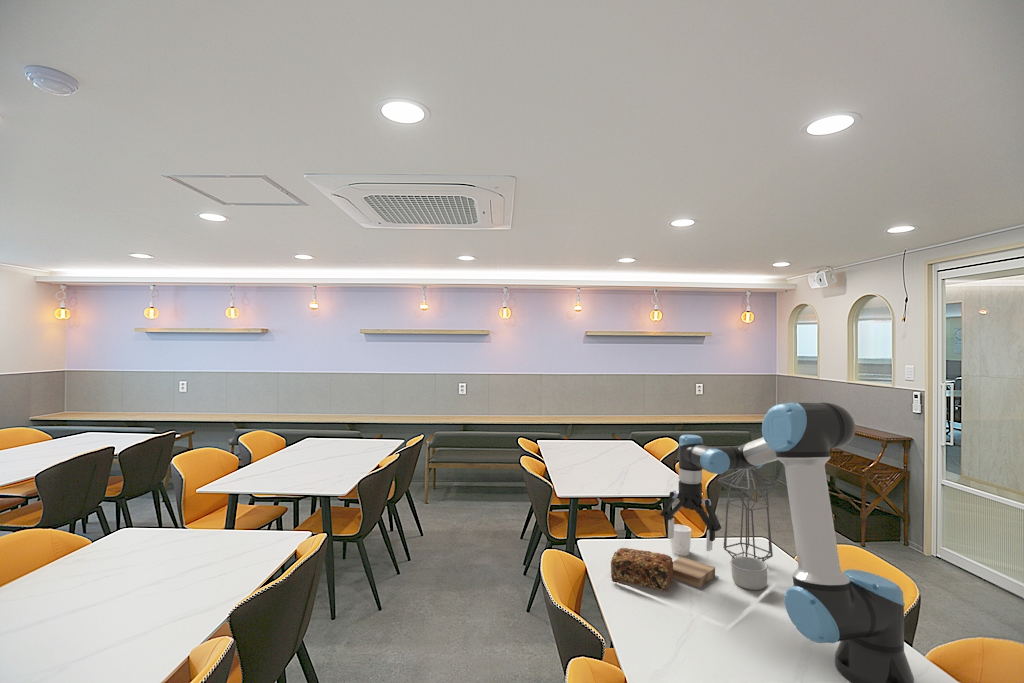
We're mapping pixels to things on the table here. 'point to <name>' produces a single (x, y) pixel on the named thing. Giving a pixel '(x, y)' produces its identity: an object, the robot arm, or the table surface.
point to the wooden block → (692, 572)
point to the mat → (700, 587)
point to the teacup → (749, 572)
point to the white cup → (681, 540)
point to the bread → (642, 568)
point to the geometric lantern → (758, 480)
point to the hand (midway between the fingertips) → (689, 543)
